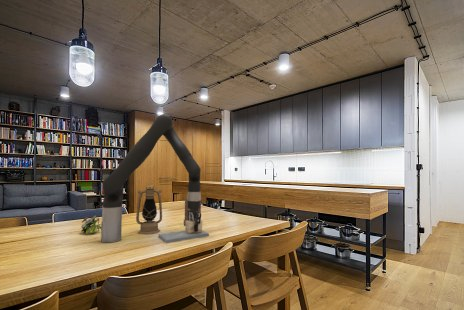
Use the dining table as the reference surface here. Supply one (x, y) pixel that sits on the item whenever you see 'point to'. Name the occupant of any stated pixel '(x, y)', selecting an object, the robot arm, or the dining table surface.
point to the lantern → (149, 211)
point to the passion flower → (86, 225)
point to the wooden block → (188, 209)
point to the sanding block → (192, 227)
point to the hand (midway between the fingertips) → (193, 230)
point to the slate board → (181, 236)
